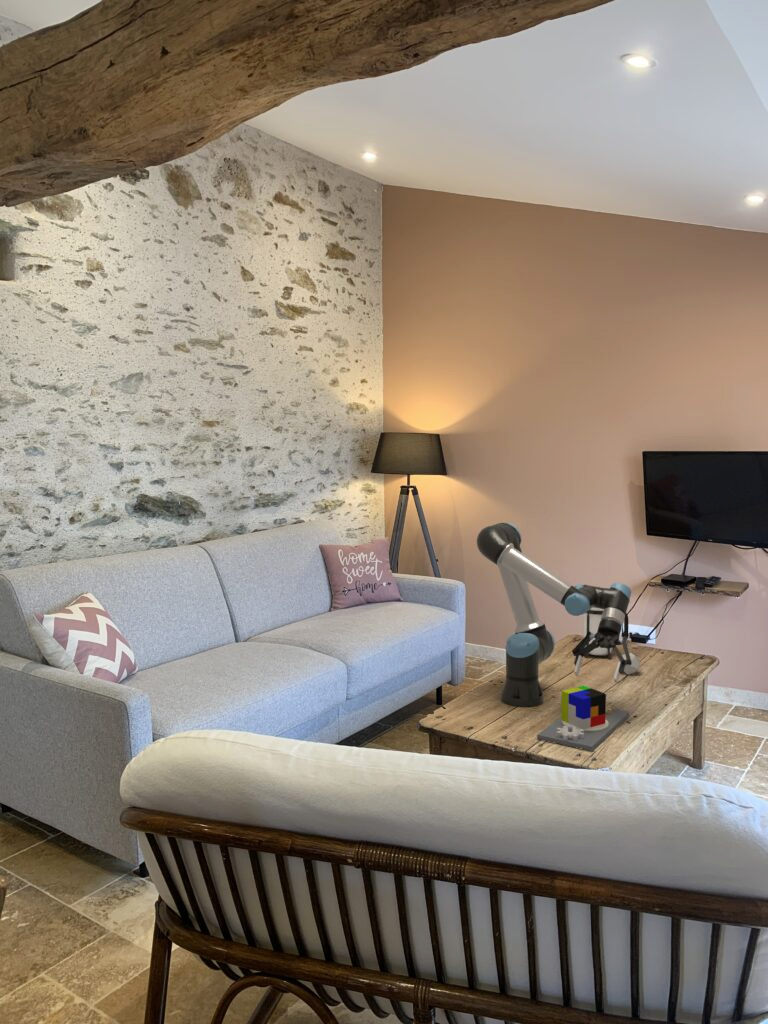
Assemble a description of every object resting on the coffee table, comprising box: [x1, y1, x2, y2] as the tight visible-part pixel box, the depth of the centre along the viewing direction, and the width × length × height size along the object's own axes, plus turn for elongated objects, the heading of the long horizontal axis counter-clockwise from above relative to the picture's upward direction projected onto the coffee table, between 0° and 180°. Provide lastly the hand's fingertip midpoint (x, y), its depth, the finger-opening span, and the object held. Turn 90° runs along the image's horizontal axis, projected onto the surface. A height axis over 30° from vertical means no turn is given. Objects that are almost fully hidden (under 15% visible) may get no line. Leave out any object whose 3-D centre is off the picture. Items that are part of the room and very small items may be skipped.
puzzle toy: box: [560, 685, 607, 729], centre depth 269 cm, size 10×10×10 cm
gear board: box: [536, 705, 630, 752], centre depth 270 cm, size 36×18×4 cm, turn 146°
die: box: [618, 652, 642, 676], centre depth 327 cm, size 8×9×10 cm
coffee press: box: [582, 607, 629, 660], centre depth 352 cm, size 17×16×30 cm
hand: (595, 677), depth 274 cm, fingers open, 13 cm apart
